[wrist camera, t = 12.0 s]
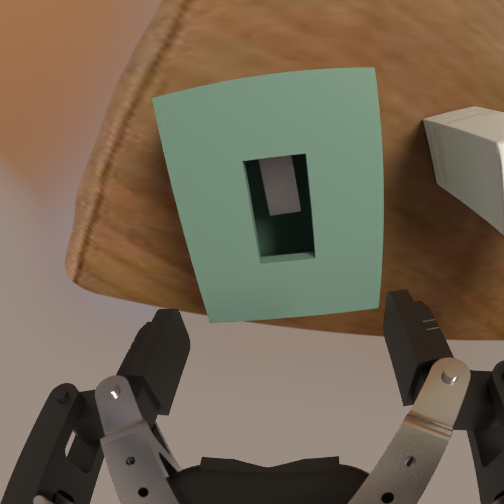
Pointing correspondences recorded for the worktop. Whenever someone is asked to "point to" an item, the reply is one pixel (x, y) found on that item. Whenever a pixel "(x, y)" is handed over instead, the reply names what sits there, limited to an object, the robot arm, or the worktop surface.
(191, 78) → the worktop surface
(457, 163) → the supplement box
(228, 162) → the money box
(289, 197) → the block
